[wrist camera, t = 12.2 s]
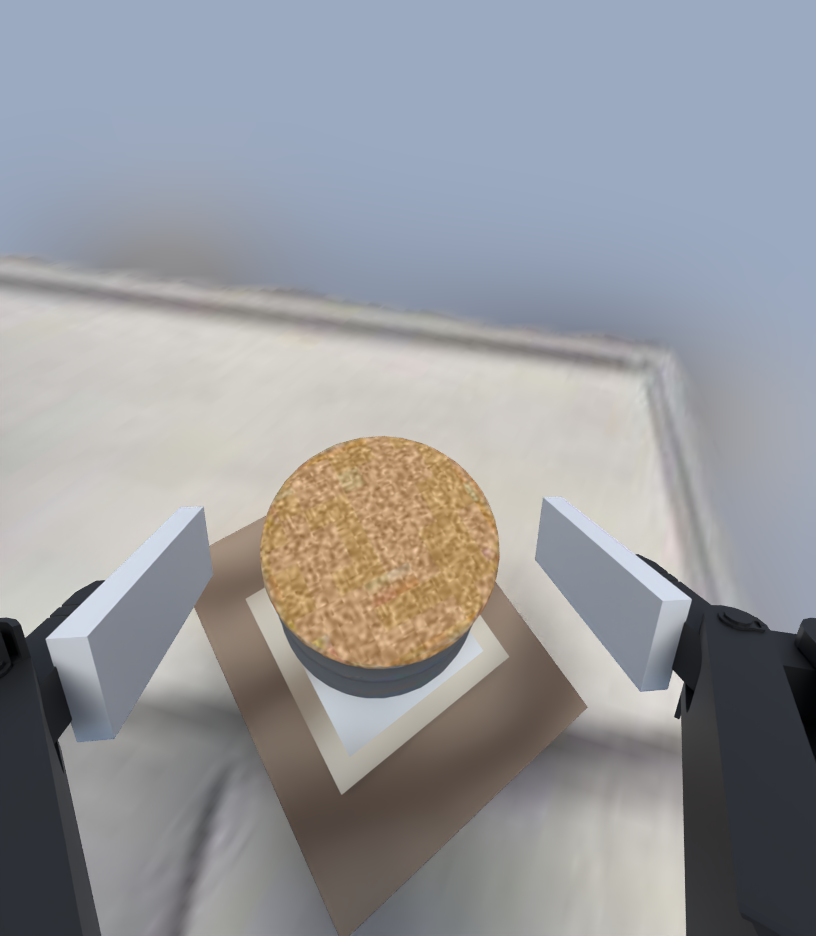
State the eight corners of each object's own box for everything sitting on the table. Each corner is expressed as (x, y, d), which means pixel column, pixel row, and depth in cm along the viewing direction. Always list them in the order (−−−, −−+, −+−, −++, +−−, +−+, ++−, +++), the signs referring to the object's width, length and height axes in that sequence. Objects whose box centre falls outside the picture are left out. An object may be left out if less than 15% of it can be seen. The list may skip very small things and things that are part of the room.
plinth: (184, 569, 26) (151, 549, 22) (394, 456, 31) (399, 423, 27) (343, 925, 19) (338, 990, 15) (575, 705, 25) (617, 711, 21)
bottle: (422, 565, 23) (486, 401, 10) (443, 681, 20) (571, 672, 7) (316, 581, 22) (230, 425, 9) (323, 704, 19) (218, 742, 6)
